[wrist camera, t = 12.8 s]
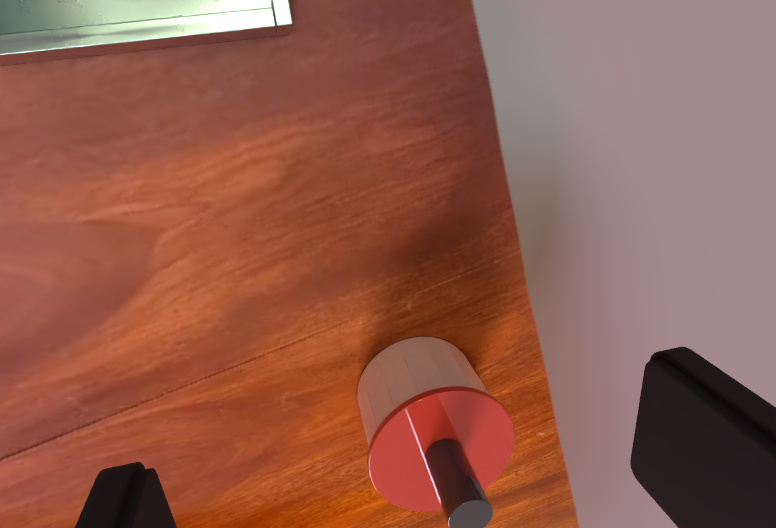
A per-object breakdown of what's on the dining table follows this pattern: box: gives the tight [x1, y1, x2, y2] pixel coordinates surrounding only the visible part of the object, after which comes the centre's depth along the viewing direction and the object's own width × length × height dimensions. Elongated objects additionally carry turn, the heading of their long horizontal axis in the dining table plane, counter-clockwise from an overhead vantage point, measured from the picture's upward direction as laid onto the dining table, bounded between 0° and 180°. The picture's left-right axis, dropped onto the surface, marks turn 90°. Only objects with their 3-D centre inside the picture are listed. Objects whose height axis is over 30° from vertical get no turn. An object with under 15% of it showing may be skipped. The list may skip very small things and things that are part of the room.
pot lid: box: [367, 386, 515, 528], centre depth 34 cm, size 11×11×7 cm
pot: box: [357, 337, 489, 449], centre depth 39 cm, size 10×10×8 cm
